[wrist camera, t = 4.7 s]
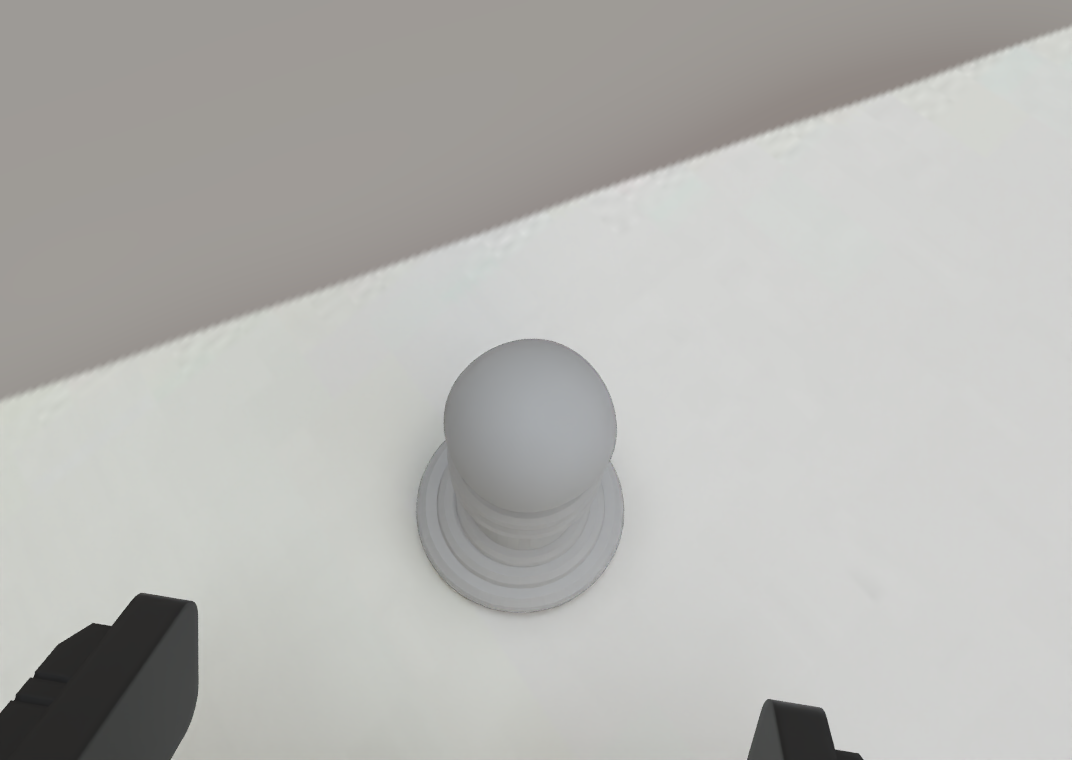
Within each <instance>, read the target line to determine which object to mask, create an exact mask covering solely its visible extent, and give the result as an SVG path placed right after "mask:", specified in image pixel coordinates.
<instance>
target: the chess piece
mask: <svg viewBox="0 0 1072 760" xmlns="http://www.w3.org/2000/svg"><path fill="white" fill-rule="evenodd" d="M444 433H445V439H446V440H445V441H444V442H443V443H442V444H441V446H440V447H439V448H438V449H437V451H436V452H435V453H434V455H433V456H432V458H431V460H430V461H429V463H428V465H427V467H426V469H425V472H424V474H423V476H422V479H421V483H420V486H419V490H418V497H417V524H418V531H419V535H420V538H421V542H422V545H423V547H424V550H425V552H426V554H427V557H428V558H429V560H430V562H431V563H432V565H433V567H434V568H435V569H436V571H437V572H438V573H439V574H440V576H441V577H442V578H443V579H444V580H445V581H446V582H447V583H448V584H449V585H450V586H451V587H452V588H453V589H455V590H456V591H457V592H459V593H460V594H462V595H463V596H464V597H466V598H468V599H470V600H472V601H474V602H475V603H478V604H480V605H483V606H486V607H488V608H492V609H496V610H500V611H506V612H517V613H519V612H534V611H540V610H546V609H549V608H552V607H555V606H558V605H561V604H563V603H565V602H567V601H569V600H571V599H573V598H574V597H576V596H578V595H579V594H581V593H582V592H584V591H585V590H586V589H587V588H588V587H589V586H591V585H592V584H593V583H594V582H595V581H596V580H597V579H598V578H599V576H600V575H601V574H602V573H603V572H604V570H605V569H606V567H607V566H608V564H609V563H610V561H611V559H612V557H613V555H614V553H615V551H616V549H617V546H618V543H619V540H620V537H621V533H622V528H623V521H624V502H623V494H622V489H621V485H620V481H619V479H618V476H617V473H616V471H615V469H614V467H613V465H612V463H611V461H610V459H611V457H612V454H613V451H614V448H615V443H616V436H617V423H616V415H615V410H614V406H613V403H612V399H611V397H610V394H609V392H608V390H607V388H606V386H605V384H604V382H603V380H602V379H601V377H600V376H599V374H598V373H597V372H596V370H595V369H594V368H593V367H592V366H591V365H590V364H589V363H588V362H587V361H586V360H585V359H584V358H583V357H582V356H580V355H579V354H578V353H576V352H575V351H573V350H572V349H570V348H568V347H566V346H564V345H562V344H559V343H556V342H553V341H549V340H543V339H523V340H516V341H512V342H508V343H505V344H502V345H499V346H497V347H495V348H493V349H491V350H489V351H487V352H485V353H484V354H482V355H481V356H479V357H478V358H477V359H475V360H474V361H473V362H472V363H471V364H470V365H469V366H468V367H467V368H466V369H465V370H464V371H463V372H462V373H461V374H460V376H459V377H458V378H457V380H456V381H455V383H454V385H453V387H452V388H451V391H450V393H449V395H448V398H447V401H446V405H445V411H444Z"/></svg>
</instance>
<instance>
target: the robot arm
mask: <svg viewBox="0 0 1072 760" xmlns="http://www.w3.org/2000/svg"><path fill="white" fill-rule="evenodd" d="M197 696H198V610H197V606H196V604H195V602H193V601H188V600H182V599H176V598H170V597H164V596H158V595H152V594H146V593H140V594H138V595H137V596H135V597H134V599H133V600H132V601H131V602H130V603H129V605H128V606H127V607H126V609H125V610H124V611H123V612H122V614H121V615H120V616H119V617H118V619H117V620H116V621H115V623H114V624H113V625H112V626H107V625H101V624H95V623H92V624H91V625H89V626H87V627H86V628H84V629H82V630H81V631H79V632H78V633H76V634H74V635H73V636H71V637H70V638H68V639H66V640H65V641H63V642H61V643H60V644H58V645H57V646H56V648H55V649H54V650H53V651H52V652H51V654H50V655H49V656H48V657H47V658H46V659H45V661H44V662H43V663H42V664H41V665H40V667H39V668H38V669H37V670H36V671H35V675H34V677H33V678H29V680H28V681H27V682H26V683H25V684H24V686H23V687H22V688H21V689H20V690H19V692H18V693H17V694H16V698H15V700H14V701H12V700H11V701H10V702H9V703H8V705H7V706H6V707H5V708H4V709H3V711H2V712H1V713H0V760H170V759H171V758H172V756H173V754H174V753H175V751H176V749H177V747H178V746H179V744H180V742H181V740H182V739H183V737H184V735H185V733H186V731H187V729H188V727H189V725H190V722H191V720H192V716H193V713H194V710H195V706H196V701H197ZM747 760H863V758H862V757H861V756H860V755H859V754H858V753H852V752H846V751H840V750H835V748H834V744H833V740H832V736H831V733H830V729H829V725H828V721H827V717H826V714H825V712H824V710H823V709H822V708H819V707H813V706H807V705H801V704H795V703H789V702H783V701H777V700H771V699H767V700H766V701H765V703H764V705H763V707H762V710H761V713H760V717H759V720H758V724H757V727H756V731H755V734H754V738H753V741H752V744H751V748H750V751H749V755H748V758H747Z"/></svg>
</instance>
